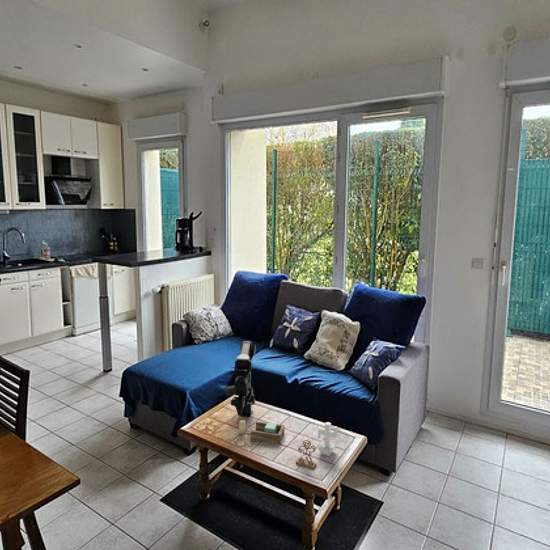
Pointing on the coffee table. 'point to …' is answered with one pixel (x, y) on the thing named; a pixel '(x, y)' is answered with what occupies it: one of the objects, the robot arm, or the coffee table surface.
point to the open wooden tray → (266, 436)
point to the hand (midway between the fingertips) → (242, 411)
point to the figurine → (327, 439)
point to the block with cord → (268, 428)
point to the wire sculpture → (306, 462)
